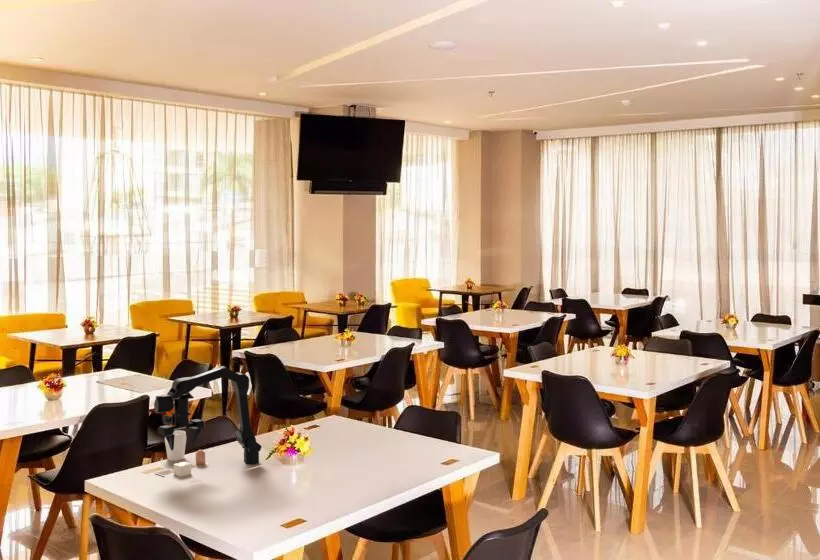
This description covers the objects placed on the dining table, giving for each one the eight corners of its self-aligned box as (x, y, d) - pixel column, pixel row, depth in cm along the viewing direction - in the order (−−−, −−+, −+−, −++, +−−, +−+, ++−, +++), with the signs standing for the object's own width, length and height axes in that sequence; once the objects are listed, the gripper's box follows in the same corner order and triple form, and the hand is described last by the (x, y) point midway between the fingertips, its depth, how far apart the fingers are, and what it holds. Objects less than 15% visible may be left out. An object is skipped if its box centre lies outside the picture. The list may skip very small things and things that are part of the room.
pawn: (207, 463, 345) (207, 449, 345) (199, 465, 342) (199, 451, 342) (201, 461, 348) (201, 448, 347) (193, 463, 345) (193, 450, 344)
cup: (160, 461, 352) (160, 433, 351) (175, 456, 360) (175, 429, 359) (176, 463, 348) (175, 436, 347) (191, 458, 356) (190, 431, 355)
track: (202, 462, 350) (202, 460, 349) (211, 465, 345) (211, 463, 345) (154, 474, 332) (154, 472, 332) (163, 477, 328) (163, 475, 328)
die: (191, 475, 331) (191, 463, 330) (180, 478, 327) (180, 466, 327) (184, 473, 334) (184, 461, 334) (173, 476, 330) (173, 463, 330)
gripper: (190, 403, 341) (190, 440, 342) (150, 411, 327) (150, 449, 328) (205, 407, 334) (206, 444, 335) (165, 415, 320) (165, 454, 321)
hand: (182, 447), depth 330 cm, fingers open, 9 cm apart
